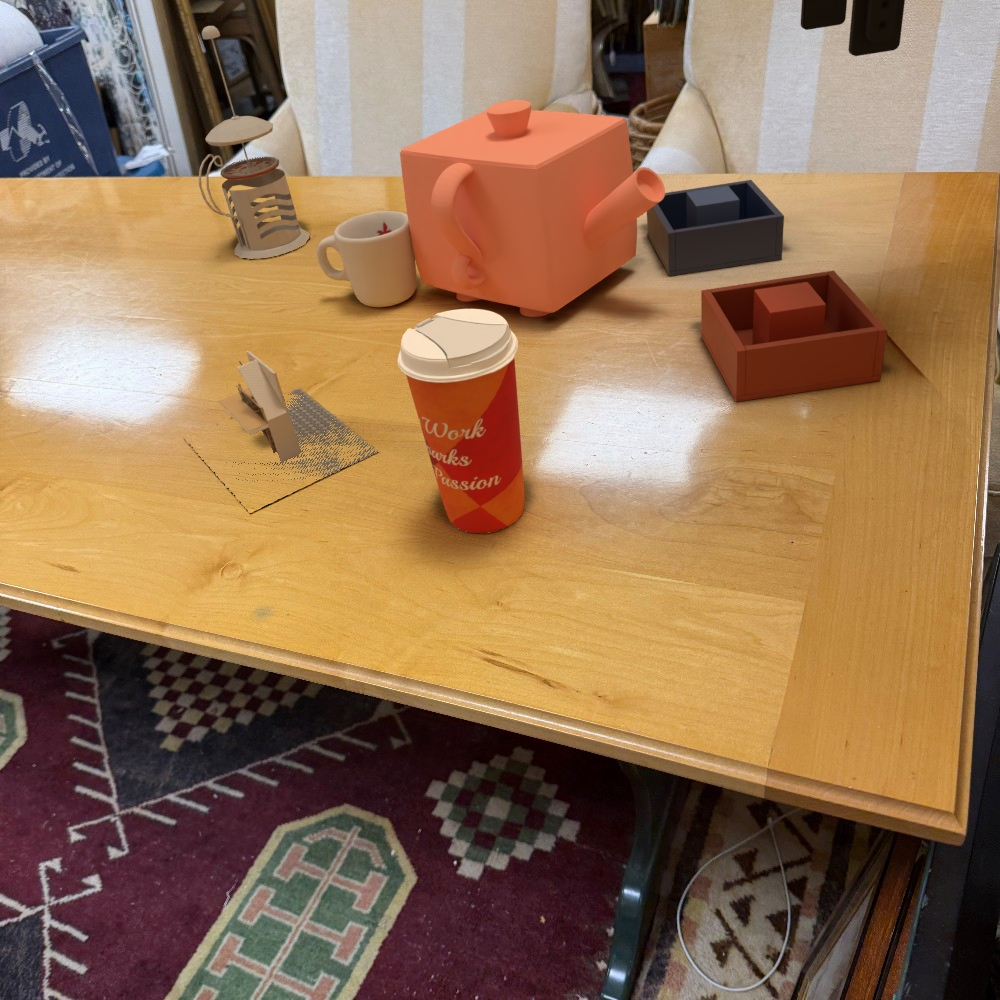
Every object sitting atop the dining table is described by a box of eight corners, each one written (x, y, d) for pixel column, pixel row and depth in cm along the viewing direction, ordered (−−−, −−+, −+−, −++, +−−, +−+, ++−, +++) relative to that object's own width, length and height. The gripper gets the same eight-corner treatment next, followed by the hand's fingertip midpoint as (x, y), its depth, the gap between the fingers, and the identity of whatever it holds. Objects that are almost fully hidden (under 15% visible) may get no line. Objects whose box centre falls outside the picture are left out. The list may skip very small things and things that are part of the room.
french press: (326, 236, 114) (269, 16, 100) (250, 271, 108) (177, 42, 93) (281, 224, 120) (222, 15, 106) (207, 256, 114) (132, 39, 99)
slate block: (727, 231, 97) (728, 185, 94) (738, 247, 94) (739, 199, 91) (686, 238, 98) (686, 191, 95) (696, 253, 94) (695, 206, 91)
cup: (315, 315, 96) (295, 242, 91) (343, 283, 102) (325, 213, 97) (411, 314, 93) (395, 238, 88) (434, 280, 99) (420, 208, 94)
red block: (803, 336, 77) (807, 281, 74) (821, 360, 74) (826, 304, 71) (751, 344, 78) (753, 289, 75) (767, 368, 74) (770, 312, 71)
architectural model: (264, 471, 73) (235, 390, 68) (232, 438, 78) (203, 361, 73) (302, 453, 74) (276, 373, 70) (268, 422, 79) (242, 345, 74)
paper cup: (411, 516, 65) (368, 342, 57) (487, 465, 69) (458, 295, 61) (485, 560, 60) (451, 376, 52) (563, 502, 64) (543, 322, 56)
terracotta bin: (829, 318, 80) (834, 270, 78) (880, 380, 71) (887, 329, 69) (701, 337, 81) (701, 290, 78) (735, 402, 72) (737, 351, 69)
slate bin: (749, 220, 100) (751, 179, 98) (781, 259, 91) (784, 215, 89) (647, 235, 101) (646, 195, 98) (669, 276, 92) (668, 233, 89)
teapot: (722, 266, 92) (725, 77, 81) (595, 366, 79) (579, 158, 68) (528, 233, 106) (509, 69, 95) (394, 313, 93) (354, 134, 83)
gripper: (767, -255, 61) (758, 25, 71) (866, -279, 47) (837, 73, 58) (879, -273, 61) (853, 10, 71) (1011, -303, 47) (956, 54, 57)
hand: (846, 38), depth 64 cm, fingers open, 9 cm apart
